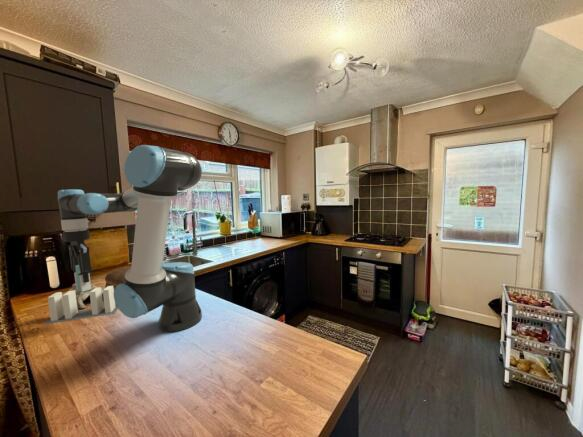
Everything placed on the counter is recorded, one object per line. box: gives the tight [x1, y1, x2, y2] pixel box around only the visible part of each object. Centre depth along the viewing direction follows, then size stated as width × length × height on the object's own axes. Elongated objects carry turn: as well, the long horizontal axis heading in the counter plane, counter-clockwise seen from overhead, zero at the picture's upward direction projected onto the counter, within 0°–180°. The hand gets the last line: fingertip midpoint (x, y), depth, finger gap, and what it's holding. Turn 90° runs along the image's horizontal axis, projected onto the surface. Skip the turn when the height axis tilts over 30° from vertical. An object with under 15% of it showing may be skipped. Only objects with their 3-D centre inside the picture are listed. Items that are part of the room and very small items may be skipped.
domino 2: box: [62, 290, 79, 319], centre depth 99 cm, size 2×5×10 cm, turn 18°
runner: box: [41, 304, 119, 326], centre depth 101 cm, size 24×9×1 cm, turn 108°
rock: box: [66, 283, 105, 310], centre depth 115 cm, size 24×9×15 cm
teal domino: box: [75, 265, 90, 292], centre depth 92 cm, size 2×5×10 cm, turn 58°
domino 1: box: [47, 291, 65, 321], centre depth 97 cm, size 2×5×10 cm, turn 18°
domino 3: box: [89, 286, 104, 315], centre depth 101 cm, size 2×5×10 cm, turn 17°
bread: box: [104, 265, 132, 289], centre depth 122 cm, size 17×30×13 cm, turn 60°
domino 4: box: [102, 286, 116, 313], centre depth 103 cm, size 2×5×10 cm, turn 18°
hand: (83, 288), depth 93 cm, fingers closed on teal domino, 5 cm apart
